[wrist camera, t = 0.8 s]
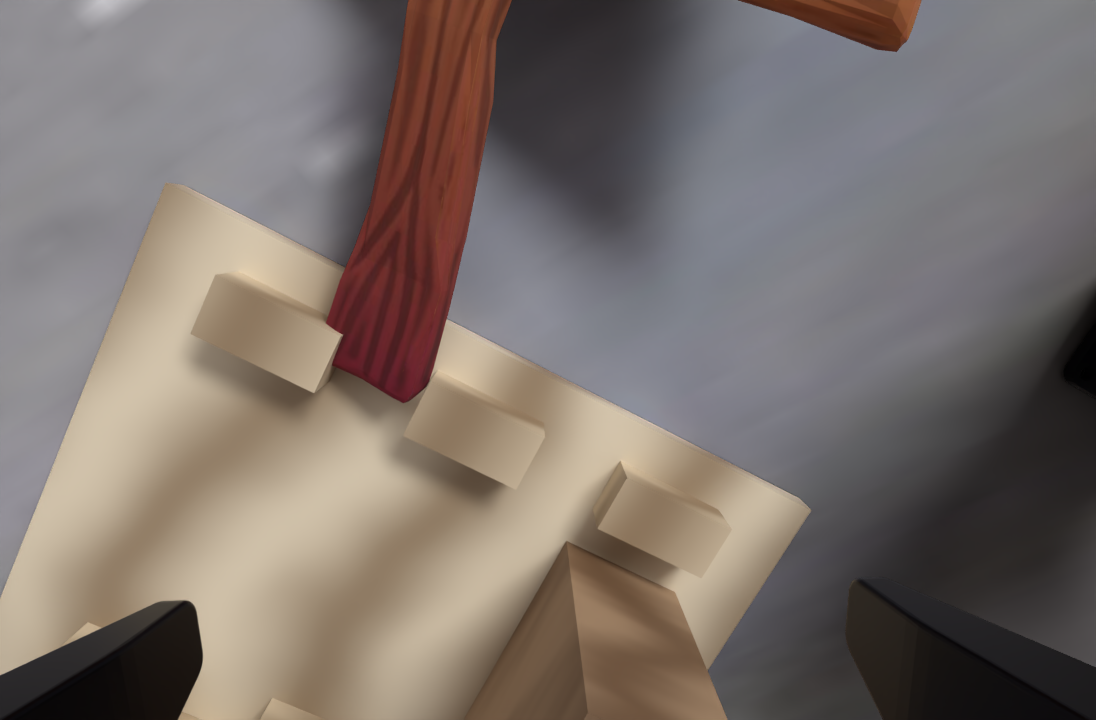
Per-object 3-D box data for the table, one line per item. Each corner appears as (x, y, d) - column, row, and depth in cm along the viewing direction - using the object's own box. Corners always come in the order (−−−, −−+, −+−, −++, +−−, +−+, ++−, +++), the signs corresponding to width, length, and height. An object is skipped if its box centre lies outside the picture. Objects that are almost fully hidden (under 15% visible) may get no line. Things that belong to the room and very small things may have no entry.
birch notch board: (799, 498, 23) (840, 538, 20) (559, 871, 26) (564, 955, 23) (183, 184, 20) (121, 176, 17) (-4, 648, 23) (-84, 711, 20)
